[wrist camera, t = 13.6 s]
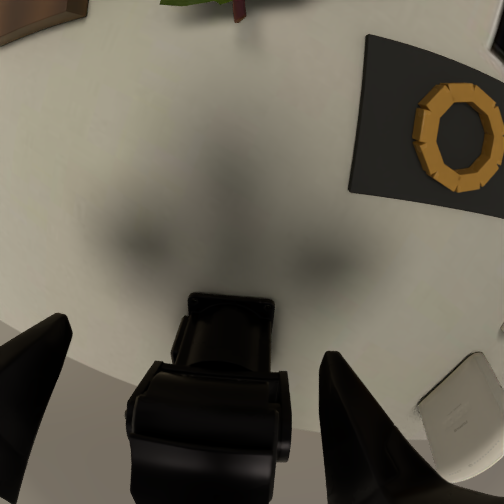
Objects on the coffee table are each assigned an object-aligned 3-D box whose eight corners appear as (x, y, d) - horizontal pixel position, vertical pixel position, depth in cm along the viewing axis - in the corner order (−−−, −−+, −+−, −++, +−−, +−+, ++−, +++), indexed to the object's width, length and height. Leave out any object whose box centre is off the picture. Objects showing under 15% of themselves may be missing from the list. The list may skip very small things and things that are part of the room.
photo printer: (472, 347, 26) (517, 441, 15) (490, 354, 26) (531, 439, 16) (411, 404, 30) (434, 494, 20) (432, 408, 31) (456, 490, 20)
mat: (527, 97, 14) (532, 98, 13) (503, 216, 19) (507, 219, 18) (365, 35, 14) (368, 33, 14) (347, 189, 19) (349, 192, 19)
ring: (501, 99, 14) (511, 101, 13) (483, 195, 18) (492, 201, 17) (419, 67, 14) (428, 66, 13) (403, 178, 18) (411, 183, 17)
